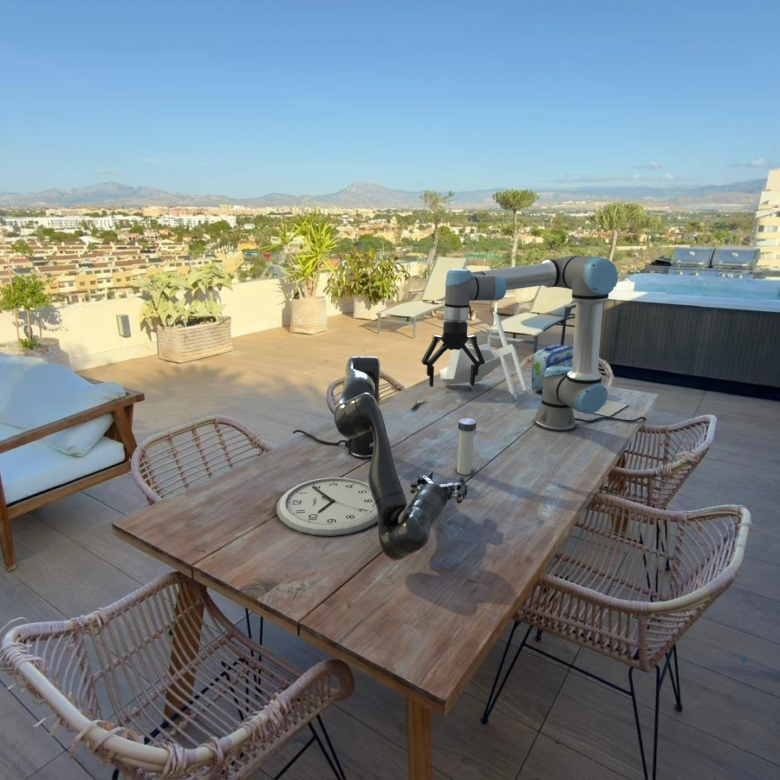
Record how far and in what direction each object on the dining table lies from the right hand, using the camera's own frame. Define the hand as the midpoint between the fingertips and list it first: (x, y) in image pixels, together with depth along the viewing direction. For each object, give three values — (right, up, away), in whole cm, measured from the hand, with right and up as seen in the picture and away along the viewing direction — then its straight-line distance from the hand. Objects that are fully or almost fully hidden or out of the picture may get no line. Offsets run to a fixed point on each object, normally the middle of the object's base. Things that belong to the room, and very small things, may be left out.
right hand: (451, 385), depth 169 cm
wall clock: (-36, -33, -26) cm, 55 cm away
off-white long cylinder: (+3, -27, -5) cm, 28 cm away
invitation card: (+72, -9, +57) cm, 92 cm away
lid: (+4, -11, -10) cm, 16 cm away
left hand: (-5, -25, -26) cm, 37 cm away
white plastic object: (+22, -3, +74) cm, 77 cm away
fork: (-8, -8, +54) cm, 56 cm away
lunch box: (+57, -1, +81) cm, 99 cm away
